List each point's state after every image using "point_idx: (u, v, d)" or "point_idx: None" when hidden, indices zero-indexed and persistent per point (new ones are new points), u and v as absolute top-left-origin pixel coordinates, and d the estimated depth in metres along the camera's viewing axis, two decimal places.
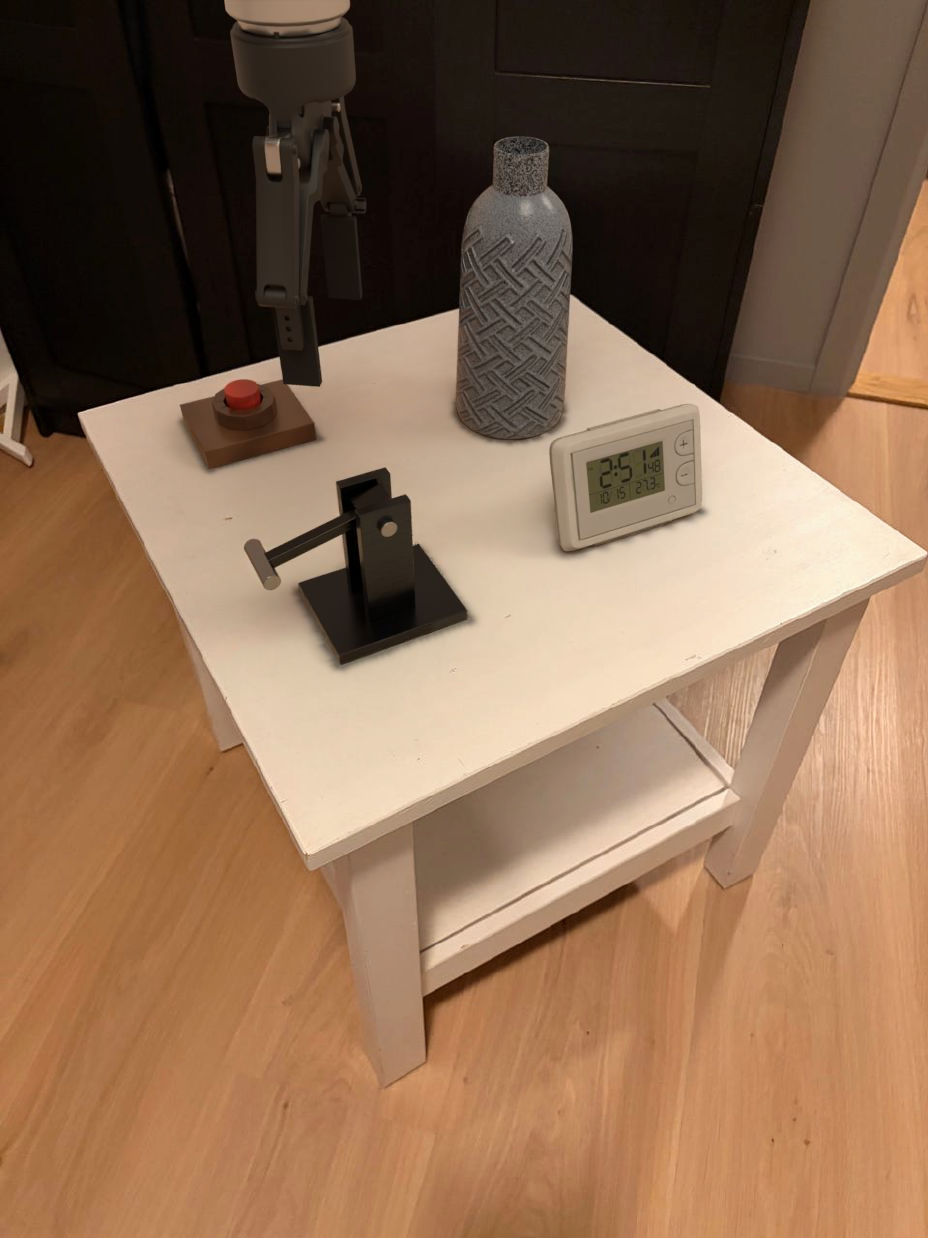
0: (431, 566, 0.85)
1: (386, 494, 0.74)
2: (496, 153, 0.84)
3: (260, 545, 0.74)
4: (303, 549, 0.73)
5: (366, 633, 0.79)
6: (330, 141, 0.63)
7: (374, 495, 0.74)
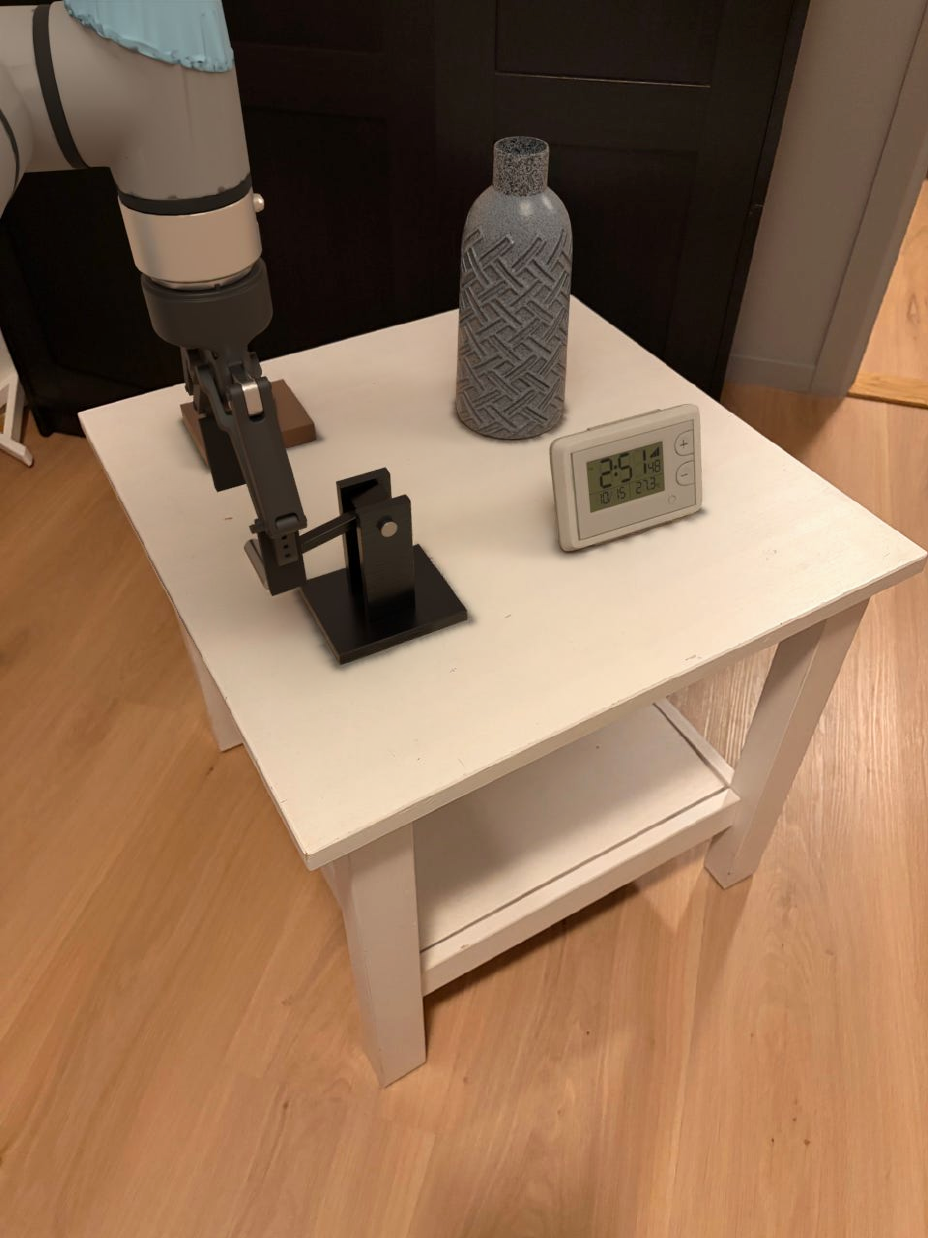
0: (431, 566, 0.85)
1: (386, 494, 0.74)
2: (496, 153, 0.84)
3: None
4: (303, 549, 0.73)
5: (366, 633, 0.79)
6: None
7: (374, 495, 0.74)
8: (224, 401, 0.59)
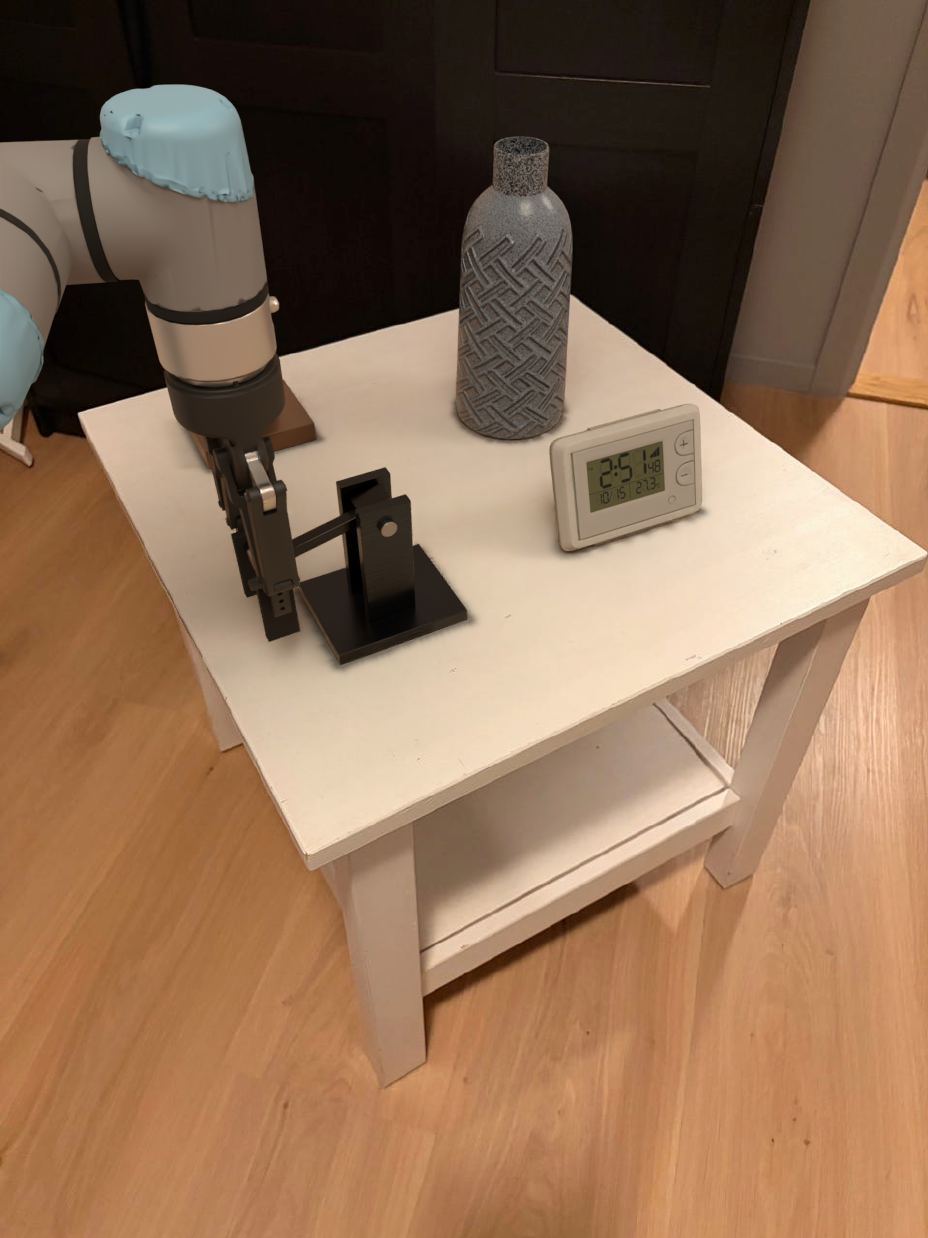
0: (431, 566, 0.85)
1: (386, 494, 0.74)
2: (496, 153, 0.84)
3: None
4: (303, 549, 0.73)
5: (366, 633, 0.79)
6: None
7: (374, 495, 0.74)
8: (239, 482, 0.64)
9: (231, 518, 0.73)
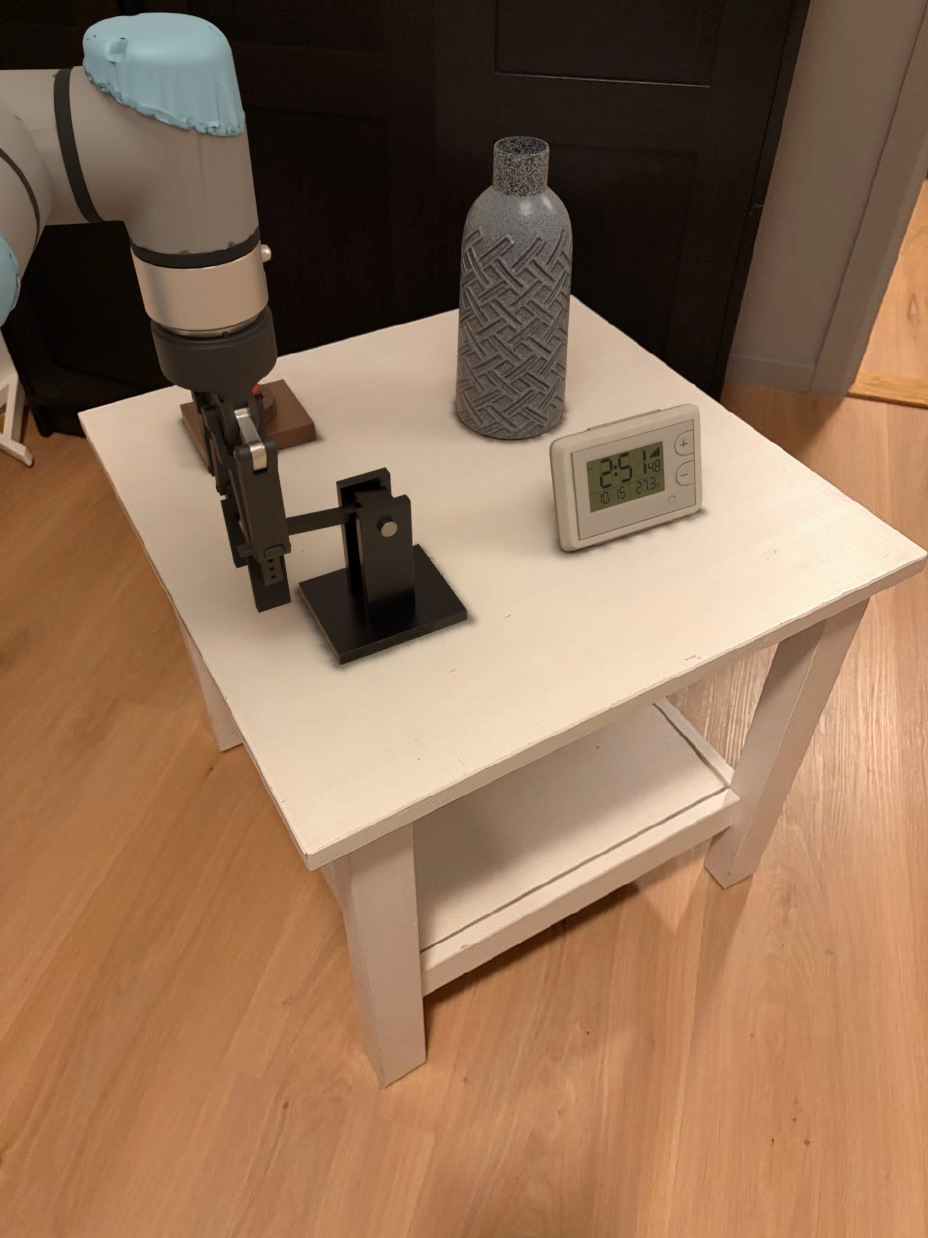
0: (431, 566, 0.85)
1: (391, 496, 0.74)
2: (496, 153, 0.84)
3: None
4: (299, 529, 0.72)
5: (366, 633, 0.79)
6: None
7: (379, 495, 0.74)
8: (229, 441, 0.61)
9: (221, 483, 0.70)
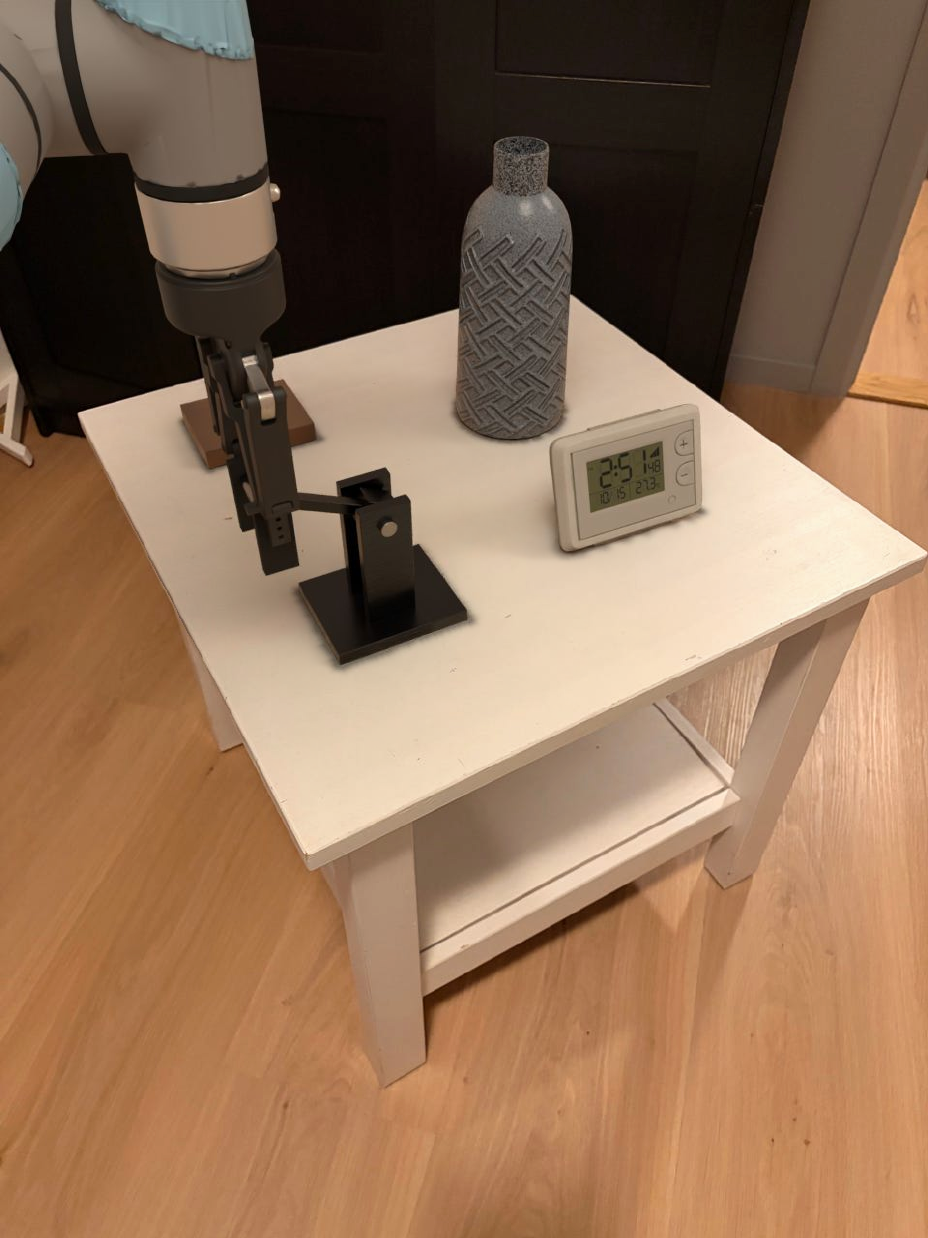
0: (431, 566, 0.85)
1: None
2: (496, 153, 0.84)
3: None
4: (303, 505, 0.71)
5: (366, 633, 0.79)
6: None
7: (383, 496, 0.74)
8: (236, 391, 0.59)
9: (226, 442, 0.68)
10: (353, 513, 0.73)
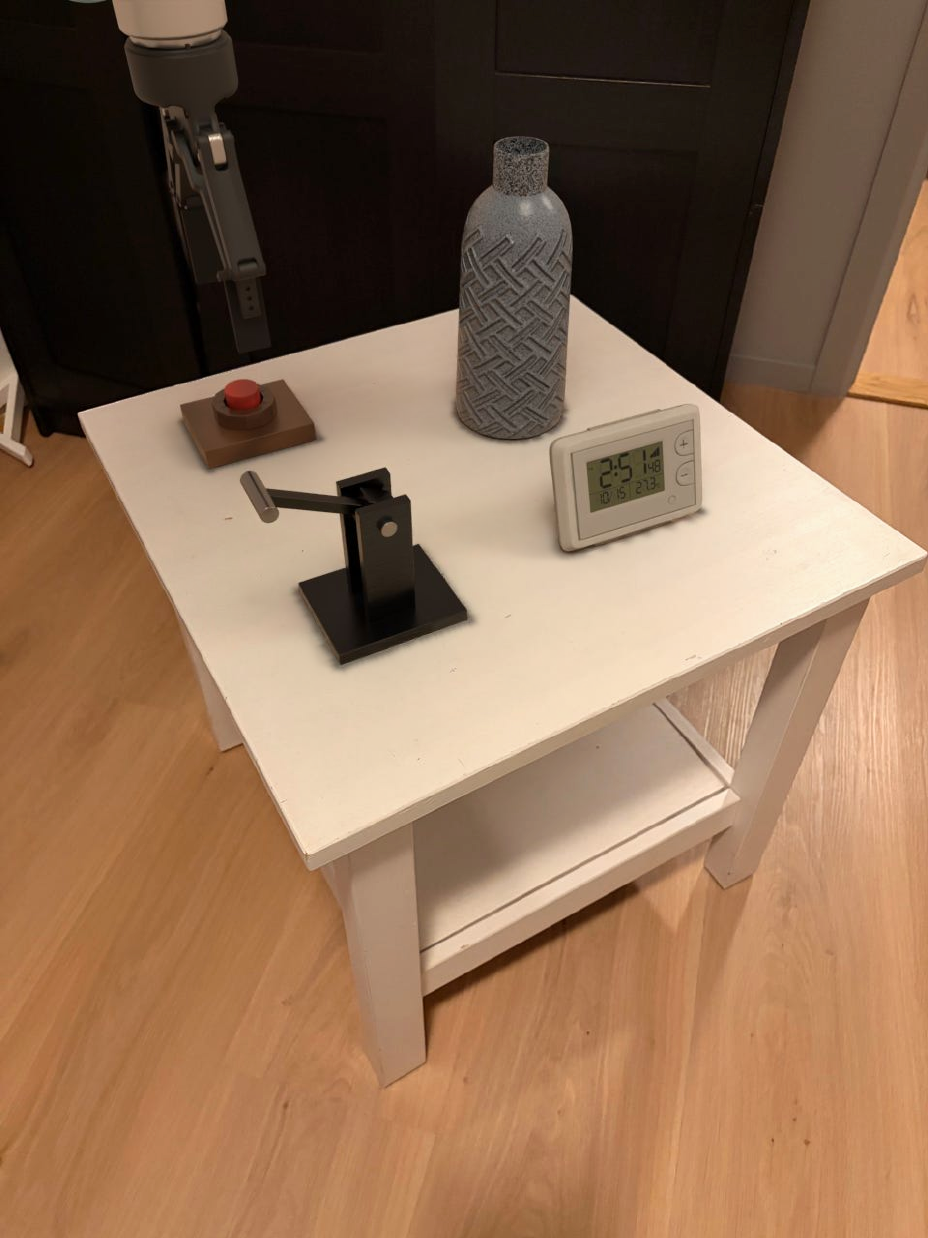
0: (431, 566, 0.85)
1: None
2: (496, 153, 0.84)
3: (261, 481, 0.70)
4: (303, 505, 0.71)
5: (366, 633, 0.79)
6: None
7: (383, 496, 0.74)
8: (196, 163, 0.69)
9: (181, 197, 0.79)
10: (353, 513, 0.73)
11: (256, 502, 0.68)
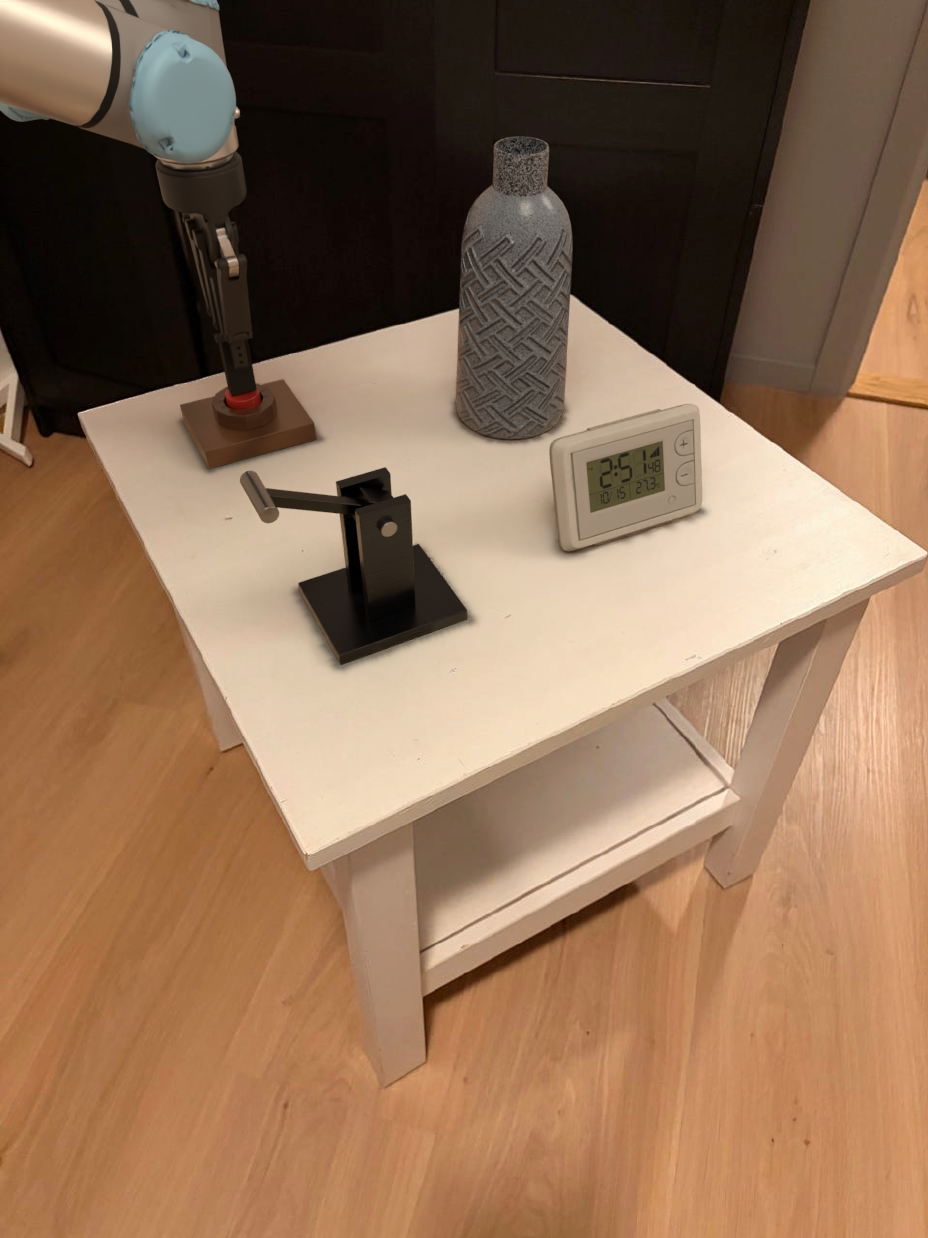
0: (431, 566, 0.85)
1: None
2: (496, 153, 0.84)
3: (261, 481, 0.70)
4: (303, 505, 0.71)
5: (366, 633, 0.79)
6: None
7: (383, 496, 0.74)
8: (212, 255, 0.85)
9: (215, 315, 0.93)
10: (353, 513, 0.73)
11: (256, 502, 0.68)
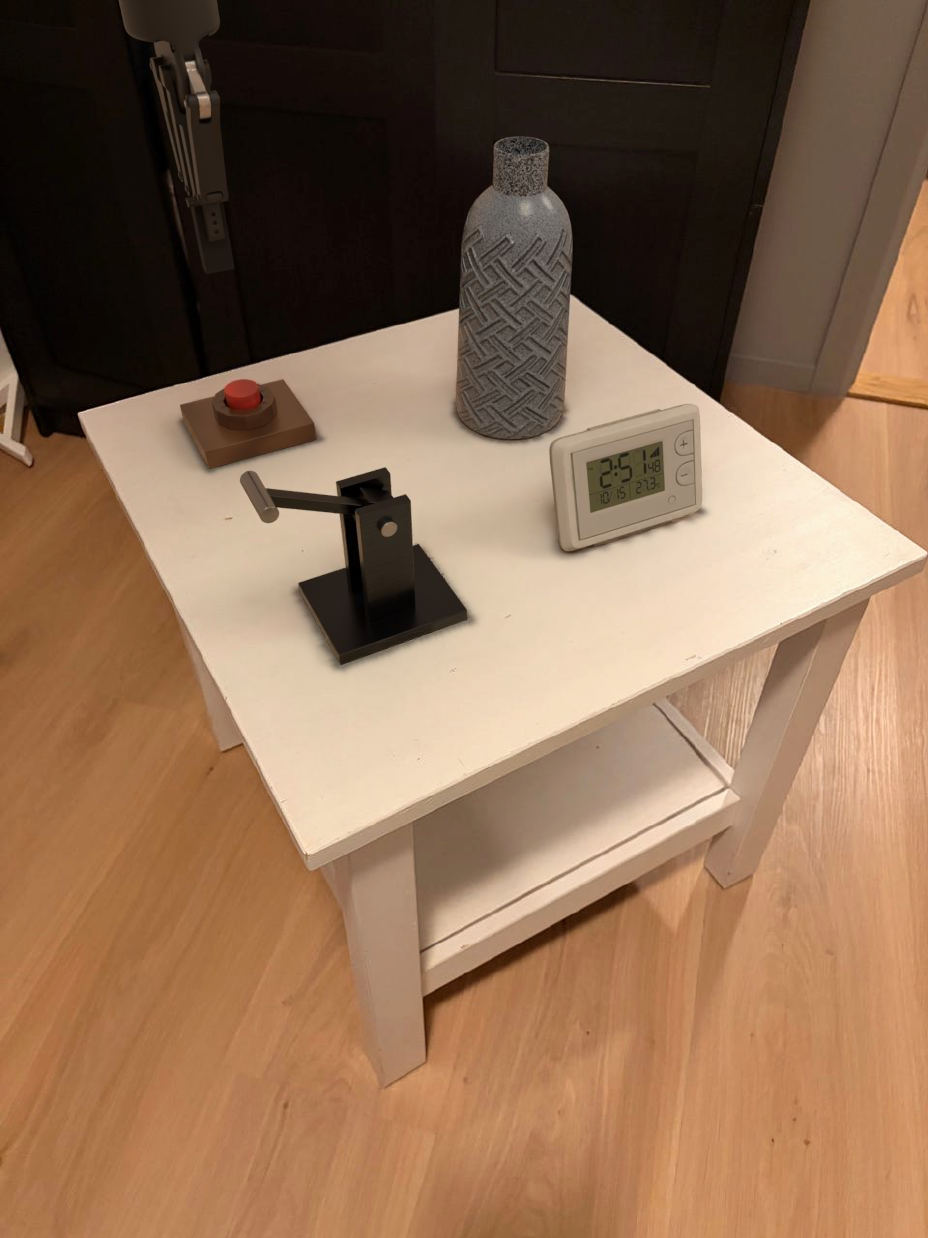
0: (431, 566, 0.85)
1: None
2: (496, 153, 0.84)
3: (261, 481, 0.70)
4: (303, 505, 0.71)
5: (366, 633, 0.79)
6: None
7: (383, 496, 0.74)
8: (181, 95, 0.76)
9: (187, 176, 0.83)
10: (353, 513, 0.73)
11: (256, 502, 0.68)
